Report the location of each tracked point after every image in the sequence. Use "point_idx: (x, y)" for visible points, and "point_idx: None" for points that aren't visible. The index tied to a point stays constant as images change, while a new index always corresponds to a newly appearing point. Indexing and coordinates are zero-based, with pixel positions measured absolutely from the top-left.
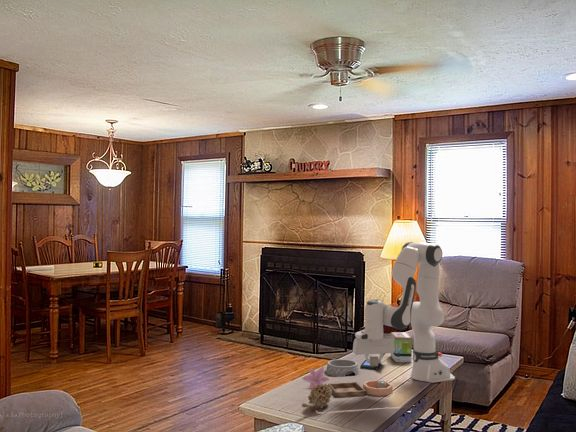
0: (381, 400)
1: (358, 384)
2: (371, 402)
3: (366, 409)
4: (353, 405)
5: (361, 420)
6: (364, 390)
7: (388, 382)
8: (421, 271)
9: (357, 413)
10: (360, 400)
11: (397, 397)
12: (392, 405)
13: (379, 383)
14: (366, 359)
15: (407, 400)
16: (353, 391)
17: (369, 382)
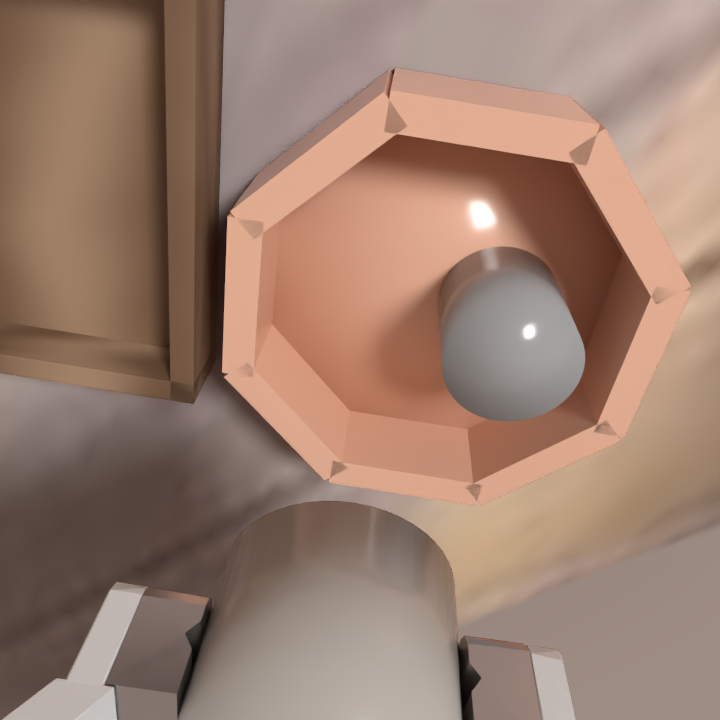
0: (332, 495)
1: (182, 115)
2: (207, 502)
3: (103, 598)
4: (8, 504)
5: (11, 705)
6: (178, 387)
7: (675, 308)
8: None
9: (8, 627)
10: (113, 428)
11: (550, 486)
12: None
13: (446, 384)
14: (74, 662)
15: (582, 572)
16: (19, 371)
17: (400, 129)
